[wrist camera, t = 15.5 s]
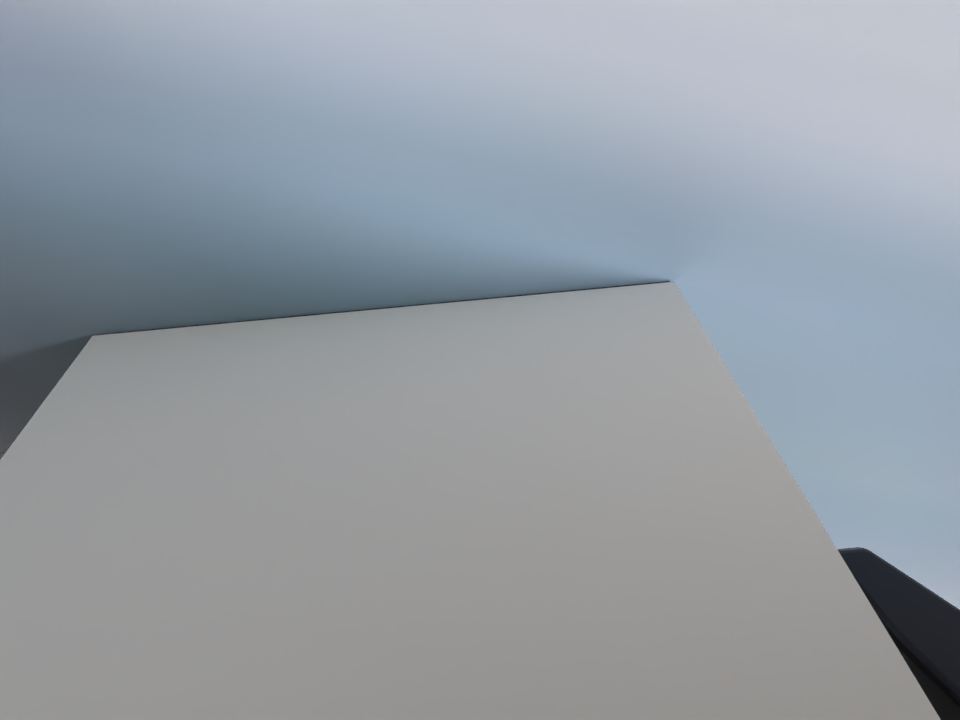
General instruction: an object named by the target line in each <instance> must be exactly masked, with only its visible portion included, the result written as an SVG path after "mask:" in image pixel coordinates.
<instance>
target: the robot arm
mask: <svg viewBox="0 0 960 720" xmlns="http://www.w3.org/2000/svg"><path fill="white" fill-rule="evenodd" d="M837 550H838V551H839V553H840V555H841V556H842V558H843V560H844V561H845V563H846V565H847V566H848V568H849V570H850V571H851V573H852V574H853V576H854V578H855V579H856V581H857V583H858V584H859V586H860V588H861V589H862V591H863V593H864V594H865V596H866V597H867V599H868V601H869V602H870V604H871V606H872V607H873V609H874V611H875V612H876V614H877V616H878V617H879V619H880V621H881V622H882V624H883V625H884V627H885V629H886V630H887V632H888V634H889V635H890V637H891V639H892V640H893V642H894V644H895V645H896V647H897V648H898V650H899V652H900V653H901V655H902V657H903V658H904V660H905V662H906V663H907V665H908V667H909V668H910V670H911V672H912V673H913V675H914V676H915V678H916V680H917V681H918V683H919V685H920V686H921V688H922V690H923V691H924V693H925V695H926V696H927V698H928V700H929V701H930V703H931V704H932V706H933V708H934V709H935V711H936V713H937V714H938V716H939V718H940V719H941V720H960V610H959V609H958V608H956V607H955V606H953V605H952V604H950V603H949V602H947V601H946V600H944V599H943V598H941V597H939V596H938V595H936V594H935V593H933V592H932V591H930V590H929V589H927V588H926V587H924V586H923V585H921V584H920V583H918V582H917V581H915V580H914V579H912V578H911V577H909V576H908V575H906V574H905V573H903V572H901V571H900V570H898V569H897V568H895V567H894V566H892V565H891V564H889V563H888V562H886V561H885V560H883V559H882V558H880V557H879V556H877V555H876V554H874V553H873V552H871V551H869V550H867V549H865V548H859V547H856V548H845V549H837Z"/></svg>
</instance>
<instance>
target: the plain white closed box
mask: <svg viewBox="0 0 960 720" xmlns="http://www.w3.org/2000/svg"><path fill="white" fill-rule="evenodd" d="M0 720H941V719H940V718H939V716H938V714H937V713H936V711H935V709H934V708H933V706H932V704H931V703H930V701H929V700H928V698H927V696H926V695H925V693H924V691H923V690H922V688H921V686H920V685H919V683H918V681H917V680H916V678H915V676H914V675H913V673H912V672H911V670H910V668H909V667H908V665H907V663H906V662H905V660H904V658H903V657H902V655H901V653H900V652H899V650H898V648H897V647H896V645H895V644H894V642H893V640H892V639H891V637H890V635H889V634H888V632H887V630H886V629H885V627H884V625H883V624H882V622H881V621H880V619H879V617H878V616H877V614H876V612H875V611H874V609H873V607H872V606H871V604H870V602H869V601H868V599H867V597H866V596H865V594H864V593H863V591H862V589H861V588H860V586H859V584H858V583H857V581H856V579H855V578H854V576H853V574H852V573H851V571H850V570H849V568H848V566H847V565H846V563H845V561H844V560H843V558H842V556H841V555H840V553H839V551H838V550H837V548H836V546H835V545H834V543H833V542H832V540H831V538H830V537H829V535H828V533H827V532H826V530H825V528H824V527H823V525H822V523H821V522H820V520H819V519H818V517H817V515H816V514H815V512H814V510H813V509H812V507H811V505H810V504H809V502H808V500H807V499H806V497H805V495H804V494H803V492H802V491H801V489H800V487H799V486H798V484H797V482H796V481H795V479H794V477H793V476H792V474H791V472H790V471H789V469H788V468H787V466H786V464H785V463H784V461H783V459H782V458H781V456H780V454H779V453H778V451H777V449H776V448H775V446H774V444H773V443H772V441H771V440H770V438H769V436H768V435H767V433H766V431H765V430H764V428H763V426H762V425H761V423H760V421H759V420H758V418H757V416H756V415H755V413H754V412H753V410H752V408H751V407H750V405H749V403H748V402H747V400H746V398H745V397H744V395H743V393H742V392H741V390H740V389H739V387H738V385H737V384H736V382H735V380H734V379H733V377H732V375H731V374H730V372H729V370H728V369H727V367H726V365H725V364H724V362H723V361H722V359H721V357H720V356H719V354H718V352H717V351H716V349H715V347H714V346H713V344H712V342H711V341H710V339H709V338H708V336H707V334H706V333H705V331H704V329H703V328H702V326H701V324H700V323H699V321H698V319H697V318H696V316H695V314H694V313H693V311H692V310H691V308H690V306H689V305H688V303H687V301H686V300H685V298H684V296H683V295H682V293H681V291H680V290H679V288H678V287H677V285H676V283H675V282H667V283H656V284H645V285H635V286H624V287H613V288H602V289H592V290H581V291H570V292H559V293H548V294H538V295H527V296H516V297H505V298H495V299H484V300H473V301H462V302H452V303H441V304H430V305H419V306H408V307H398V308H387V309H376V310H365V311H355V312H344V313H333V314H322V315H311V316H301V317H290V318H279V319H268V320H258V321H247V322H236V323H225V324H214V325H204V326H193V327H182V328H171V329H161V330H150V331H139V332H128V333H117V334H107V335H96V336H92V337H91V339H90V340H89V341H88V343H87V344H86V345H85V347H84V348H83V349H82V351H81V352H80V353H79V355H78V356H77V357H76V359H75V360H74V361H73V363H72V364H71V365H70V367H69V368H68V370H67V371H66V372H65V374H64V375H63V376H62V378H61V379H60V380H59V382H58V383H57V384H56V386H55V387H54V388H53V390H52V391H51V392H50V394H49V395H48V396H47V398H46V399H45V400H44V402H43V403H42V404H41V406H40V407H39V408H38V410H37V411H36V412H35V414H34V415H33V417H32V418H31V419H30V421H29V422H28V423H27V425H26V426H25V427H24V429H23V430H22V431H21V433H20V434H19V435H18V437H17V438H16V439H15V441H14V442H13V443H12V445H11V446H10V447H9V449H8V450H7V451H6V453H5V454H4V455H3V457H2V458H1V459H0Z"/></svg>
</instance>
